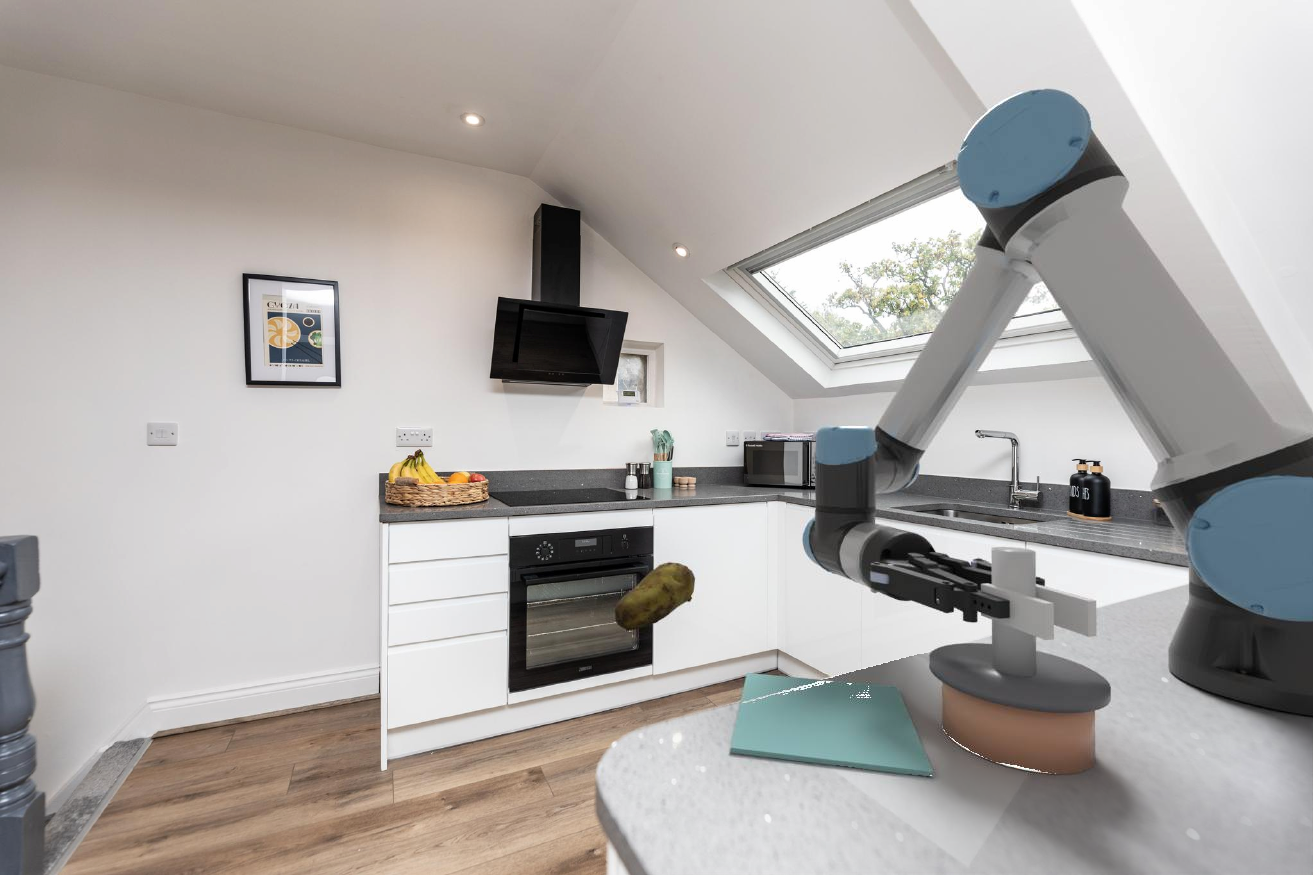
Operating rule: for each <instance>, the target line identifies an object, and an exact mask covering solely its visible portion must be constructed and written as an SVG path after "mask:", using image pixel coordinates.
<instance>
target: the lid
mask: <svg viewBox="0 0 1313 875" xmlns="http://www.w3.org/2000/svg"><path fill="white" fill-rule="evenodd" d="M1036 552H1037V551H1035V550H1032V549H1027V548H1022V547H1015V546H1013V547H1011V546H995V547H991V564H992V585H995V586H998V587H1002V588H1005V589H1009V590H1012V591H1015V592H1018V593H1022V594H1025V595H1028V596H1032V597H1035V598H1036V577H1037V575H1036V574H1037V567H1036V566H1037V564H1036V562H1037V561H1036V559H1037V558H1036V557H1037V555H1036V554H1037V553H1036ZM928 662H929V663H928V664H929V665H928V667H929V671H930V673H931V674H932V676H934V677H935V678H936V679H937V680H939V681H940V682H941V683H942V682H943V683H944V684H946V685H948V686H950V687H952V688H954V689H956V690H958V691H960V692H963V693H965V694H968V695H970V696H973V697H976V698H979V699H982V700H986V701H989V702H992V703H996V704H1001V705H1005V706H1009V707H1014V708H1019V709H1025V710H1032V711H1040V712H1050V713H1083V712H1091V711H1095V712H1096V711H1098V710H1101V709H1104V708H1106V707H1107V706H1108V705H1109V704H1110V703H1111V699H1112V687H1111V684H1110V682H1109V681H1108V680H1107V679H1106V678H1105V677H1104V676H1103V675H1101V674H1100V673H1099V672H1097V671H1095V670H1093V669H1091V668H1090V667H1087V666H1085V665H1084V664H1080V663H1078V662H1076V661H1073V660H1071V659H1067V658H1064V657H1061V656H1058V655H1054V654H1051V653H1048V652H1047V653H1046V652H1043V651H1040V650H1037V637H1036V636H1033V635H1031V634H1028V633H1026V632H1023V631H1020V630H1018V629H1015V628H1013V627H1010V626H1007V625H1005V624H1002V623H999V622H997V621H994V620H992V619H991V643H984V642H983V643H982V642H976V643H974V642H968V643H962V642H961V643H954V644H952V643H951V644H947V645H942V646H938V647H937V648H934V649H933V650H932V651H931V652H930V653H929V656H928Z"/></svg>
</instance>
